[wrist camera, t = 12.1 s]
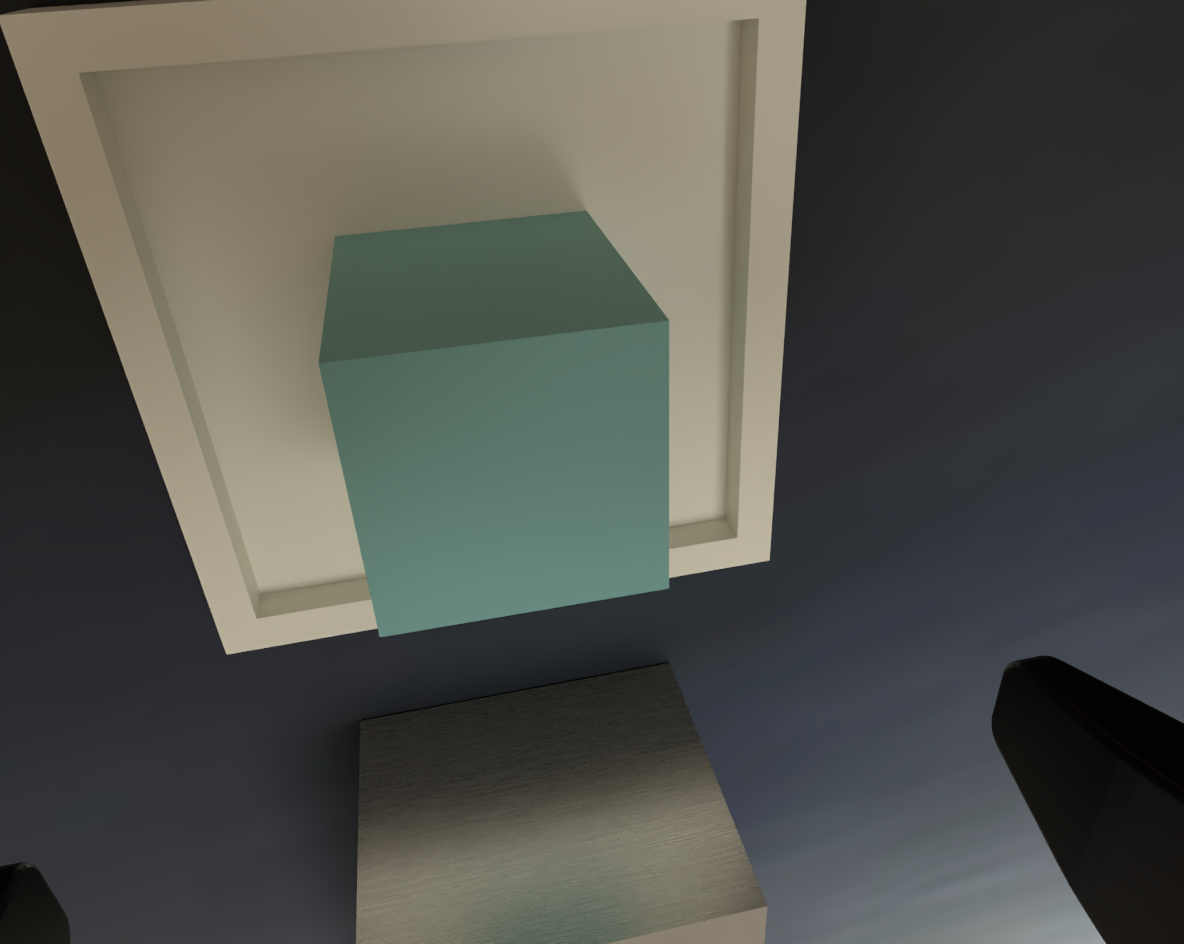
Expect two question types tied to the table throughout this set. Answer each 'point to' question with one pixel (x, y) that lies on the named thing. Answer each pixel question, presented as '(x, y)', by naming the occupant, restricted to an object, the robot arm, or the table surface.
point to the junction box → (550, 822)
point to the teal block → (498, 418)
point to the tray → (403, 201)
